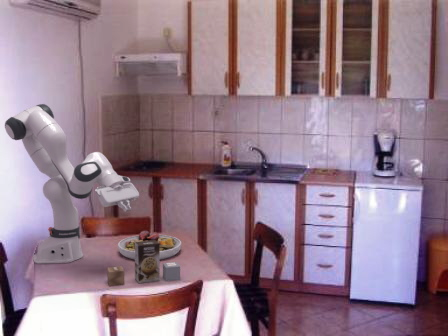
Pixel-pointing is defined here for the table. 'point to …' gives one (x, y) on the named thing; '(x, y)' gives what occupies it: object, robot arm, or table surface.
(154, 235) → the bowl
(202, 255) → the table surface
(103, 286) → the table surface
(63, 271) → the table surface
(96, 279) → the table surface
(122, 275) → the brown cube
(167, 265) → the grey block
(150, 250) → the coffee box
